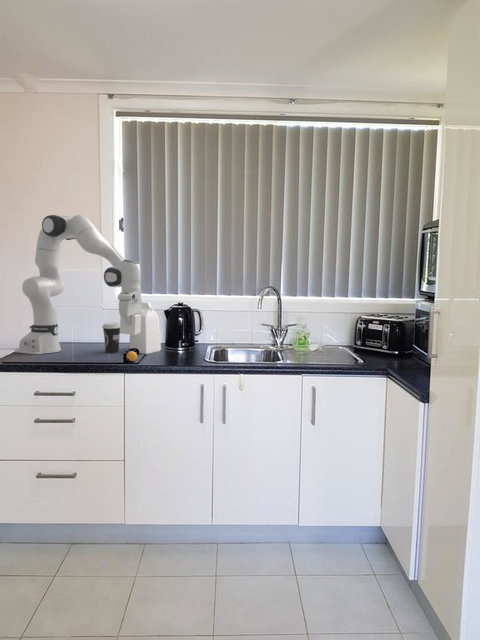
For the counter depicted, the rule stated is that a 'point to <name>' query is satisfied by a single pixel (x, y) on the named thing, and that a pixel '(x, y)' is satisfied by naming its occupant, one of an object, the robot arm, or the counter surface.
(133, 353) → the ball
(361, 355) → the counter surface
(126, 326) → the white block
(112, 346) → the coffee cup
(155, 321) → the milk
